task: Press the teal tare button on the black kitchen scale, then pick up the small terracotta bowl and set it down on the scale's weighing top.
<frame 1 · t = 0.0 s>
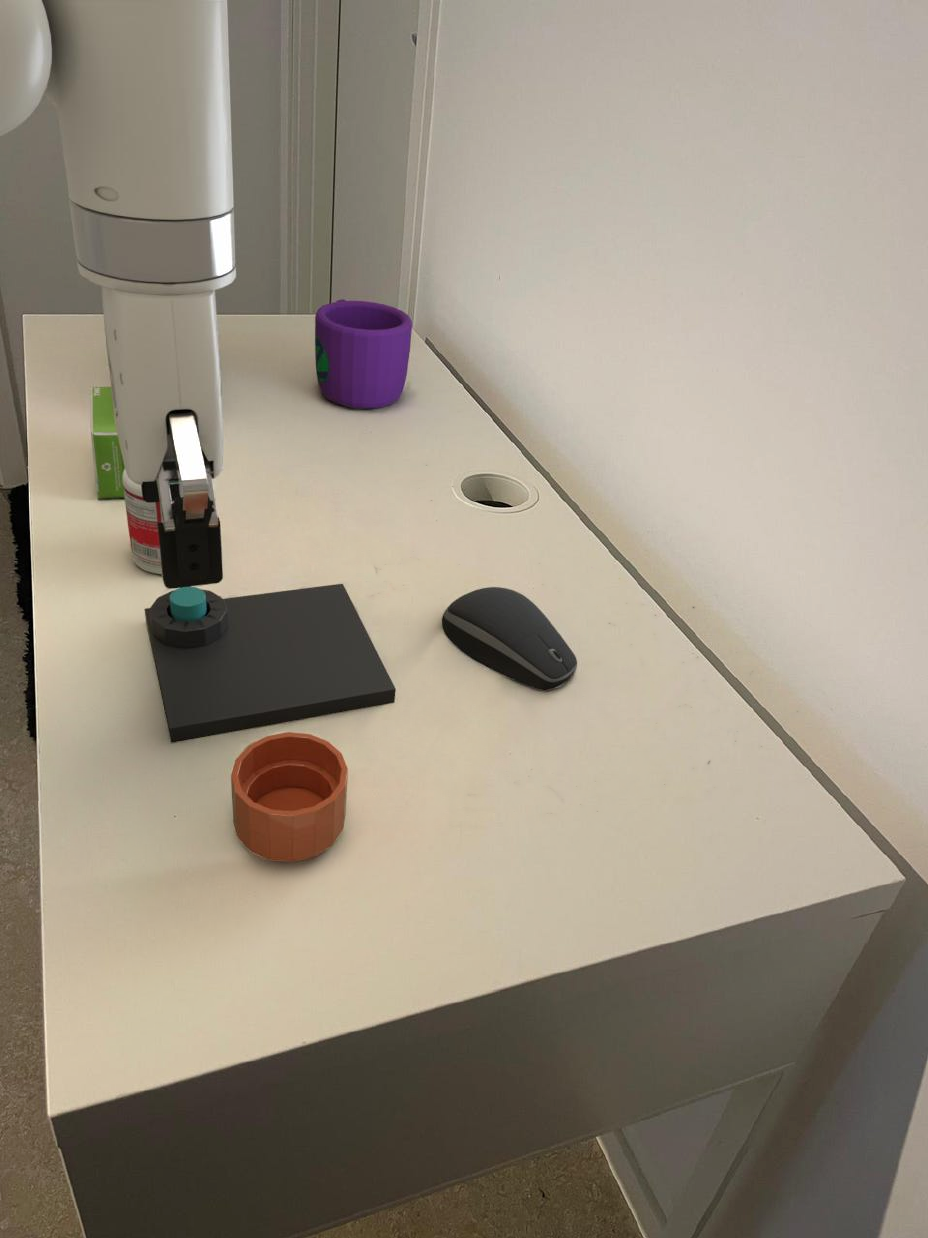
hand: (180, 538, 54), 15 cm above the table, tool pointing down, fingers open, 9 cm apart
bowl: (290, 823, 57), on the table
computer mouse: (505, 650, 74), on the table
pill bottle: (169, 559, 79), on the table
mug: (352, 387, 114), on the table
tare button: (188, 604, 68), point 3 cm above the table, slide at 0.1 cm
book: (173, 380, 109), on the table
scale: (266, 661, 69), on the table
ink box: (126, 475, 90), on the table
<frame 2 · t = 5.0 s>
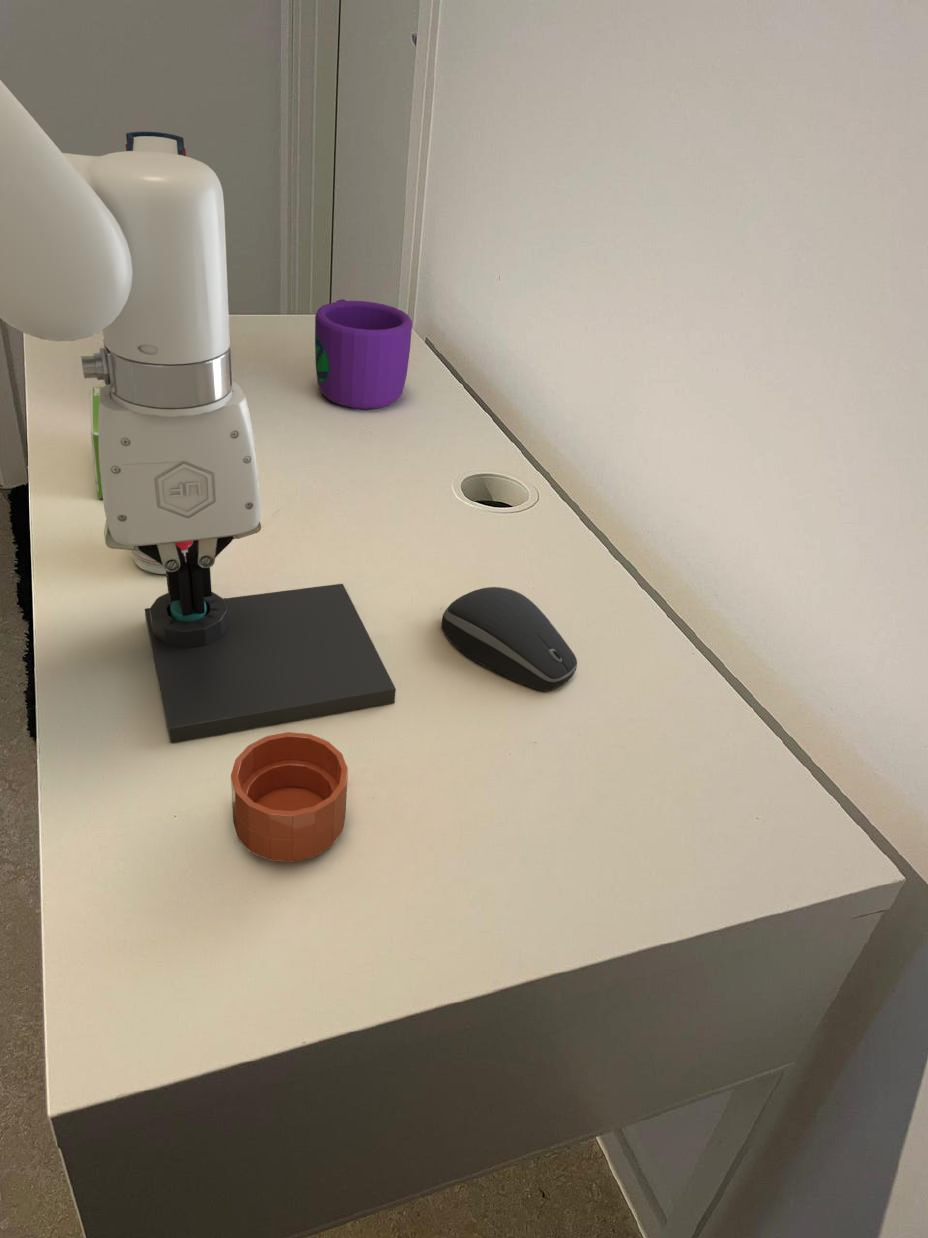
hand: (190, 603, 68), 3 cm above the table, tool pointing down, fingers closed
tare button: (189, 613, 69), point 3 cm above the table, slide at -0.7 cm, touching gripper
everything else where it was.
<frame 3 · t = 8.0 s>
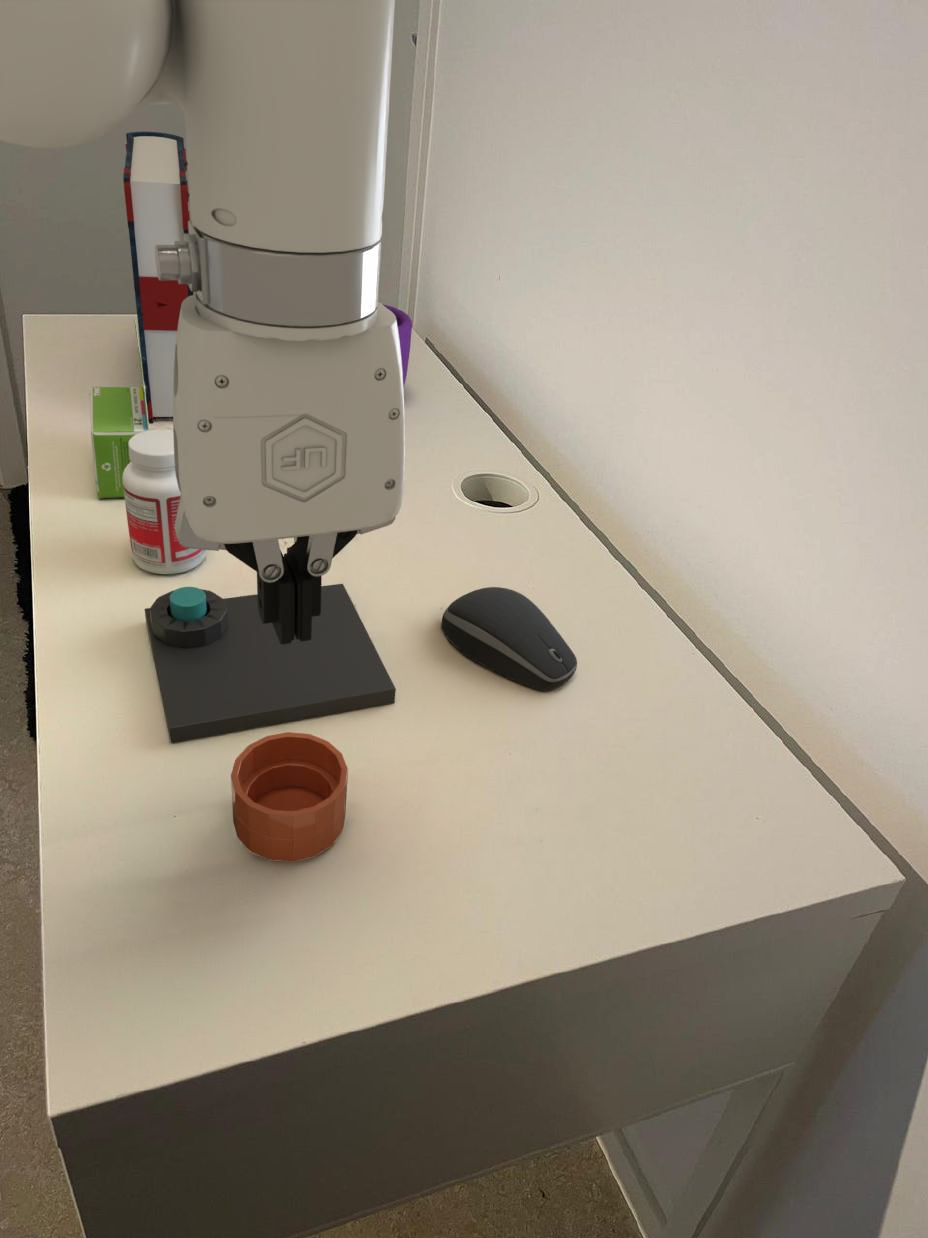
hand: (289, 626, 48), 15 cm above the table, tool pointing down, fingers closed
tare button: (188, 604, 68), point 3 cm above the table, slide at 0.1 cm
everything else where it was.
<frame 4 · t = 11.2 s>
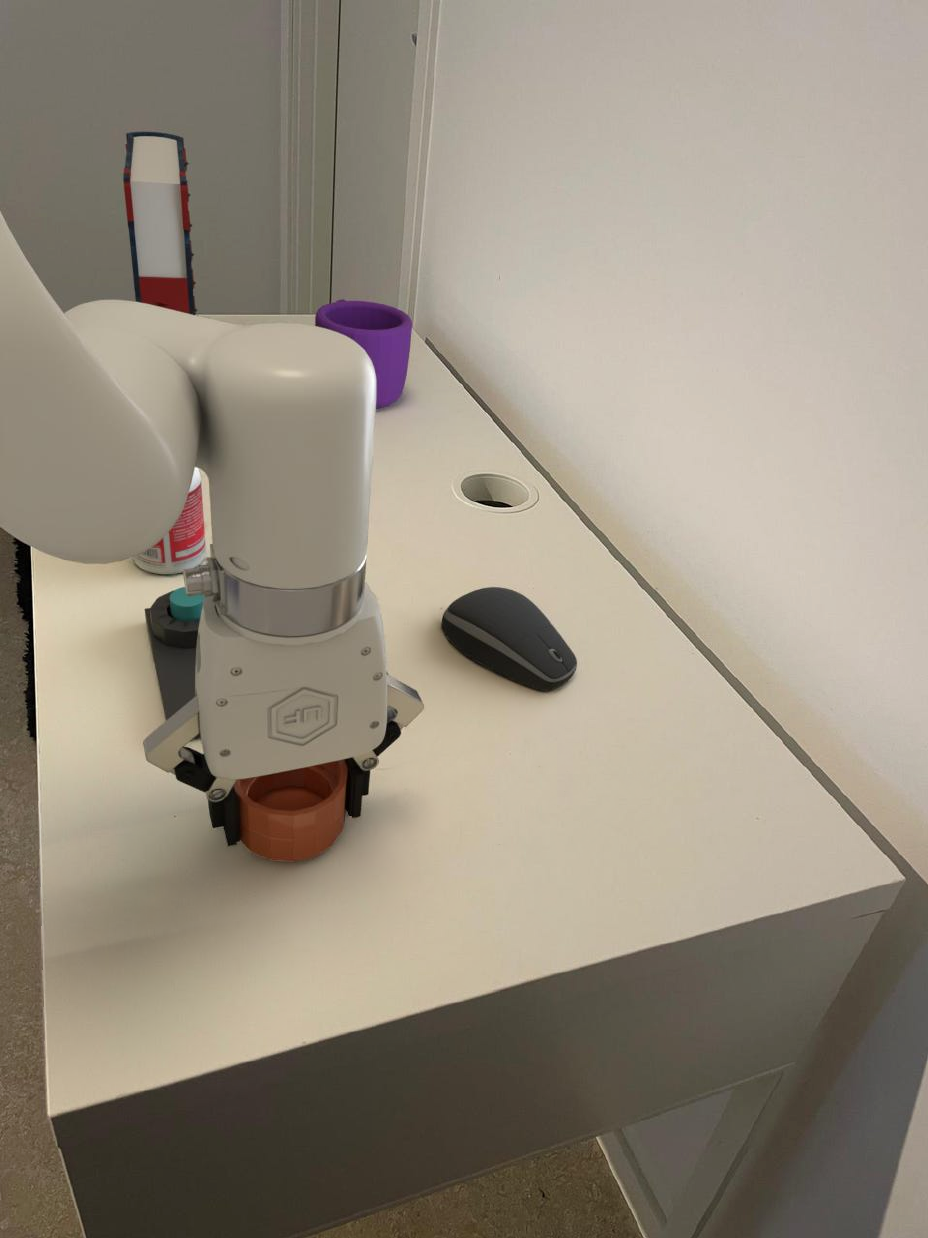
hand: (290, 812, 56), 1 cm above the table, tool pointing down, fingers closed on bowl, 6 cm apart
bowl: (290, 823, 57), on the table, touching gripper
everything else where it was.
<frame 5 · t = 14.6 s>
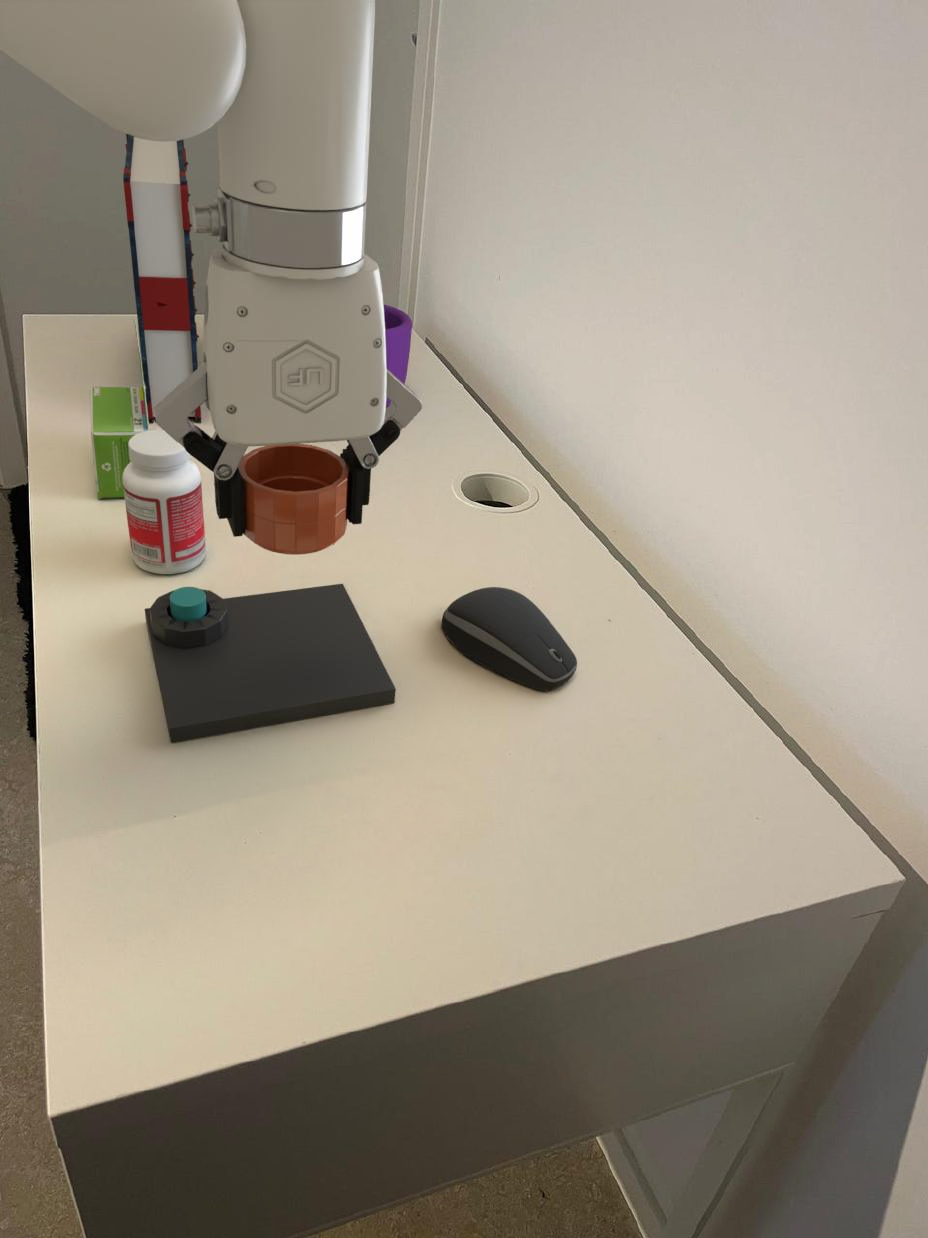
hand: (293, 517, 59), 15 cm above the table, tool pointing down, fingers closed on bowl, 6 cm apart
bowl: (293, 530, 59), point 14 cm above the table, touching gripper
everything else where it was.
when the fingers open (2 cm above the table, at t = 18.0 s): bowl stays where it is, resting on scale.
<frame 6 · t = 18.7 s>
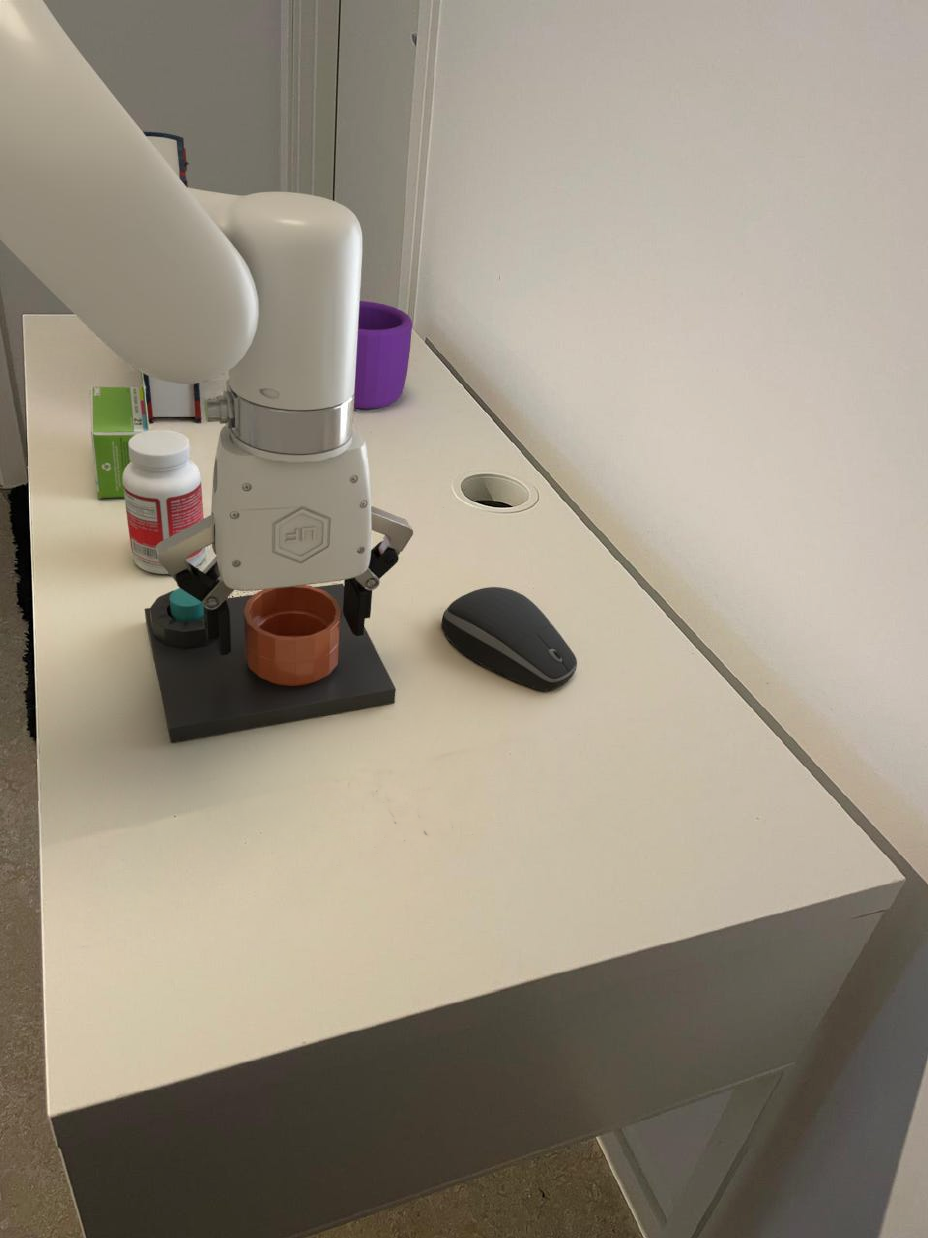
hand: (289, 633, 66), 4 cm above the table, tool pointing down, fingers open, 9 cm apart
bowl: (292, 660, 67), point 1 cm above the table, touching scale
everything else where it was.
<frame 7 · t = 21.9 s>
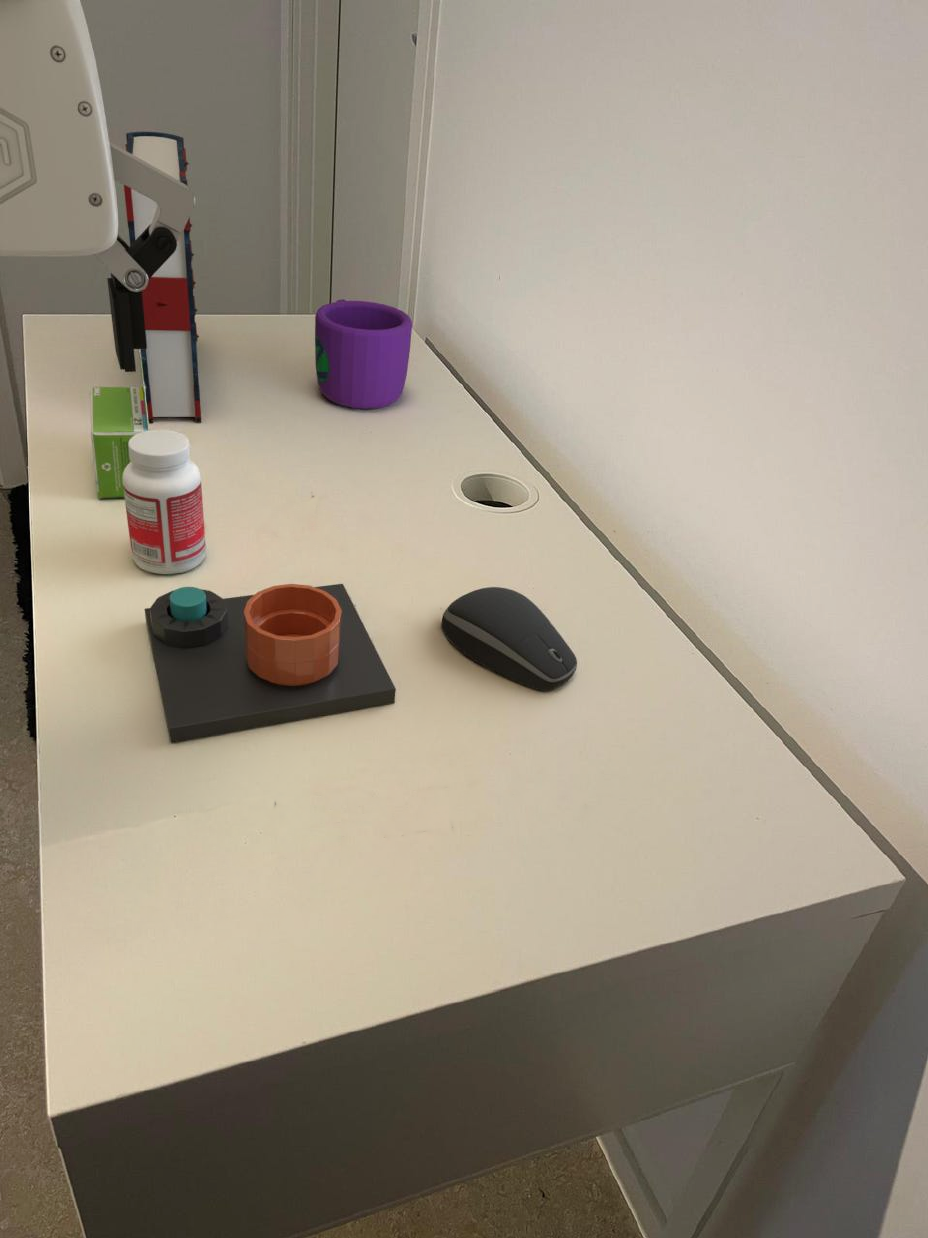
hand: (22, 365, 44), 26 cm above the table, tool pointing down, fingers open, 9 cm apart
nothing on the table moved.
at the end: tare button pushed in 0.9 cm at the most during the clip, back to where it started at the end; bowl inside the target area on the scale (1.3 cm from its centre), point 1.4 cm above the scale's base; bowl touching scale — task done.
